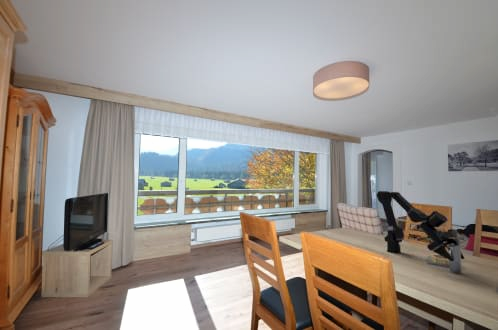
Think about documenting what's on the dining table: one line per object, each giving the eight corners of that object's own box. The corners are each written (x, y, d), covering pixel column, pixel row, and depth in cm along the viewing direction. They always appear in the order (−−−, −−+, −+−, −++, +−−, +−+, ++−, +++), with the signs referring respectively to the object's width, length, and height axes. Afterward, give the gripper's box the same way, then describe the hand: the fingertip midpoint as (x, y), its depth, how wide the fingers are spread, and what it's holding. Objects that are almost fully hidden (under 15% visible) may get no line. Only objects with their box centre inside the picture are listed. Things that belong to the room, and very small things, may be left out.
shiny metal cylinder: (449, 272, 108) (448, 245, 109) (449, 269, 111) (448, 244, 112) (462, 275, 105) (460, 247, 106) (461, 272, 108) (459, 245, 109)
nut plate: (427, 263, 119) (427, 257, 120) (427, 257, 128) (427, 251, 129) (457, 269, 112) (457, 262, 112) (455, 263, 121) (455, 256, 121)
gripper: (433, 224, 110) (462, 254, 99) (454, 222, 117) (483, 249, 106) (416, 236, 117) (442, 265, 106) (437, 233, 123) (463, 260, 113)
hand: (458, 259), depth 107 cm, fingers open, 9 cm apart
